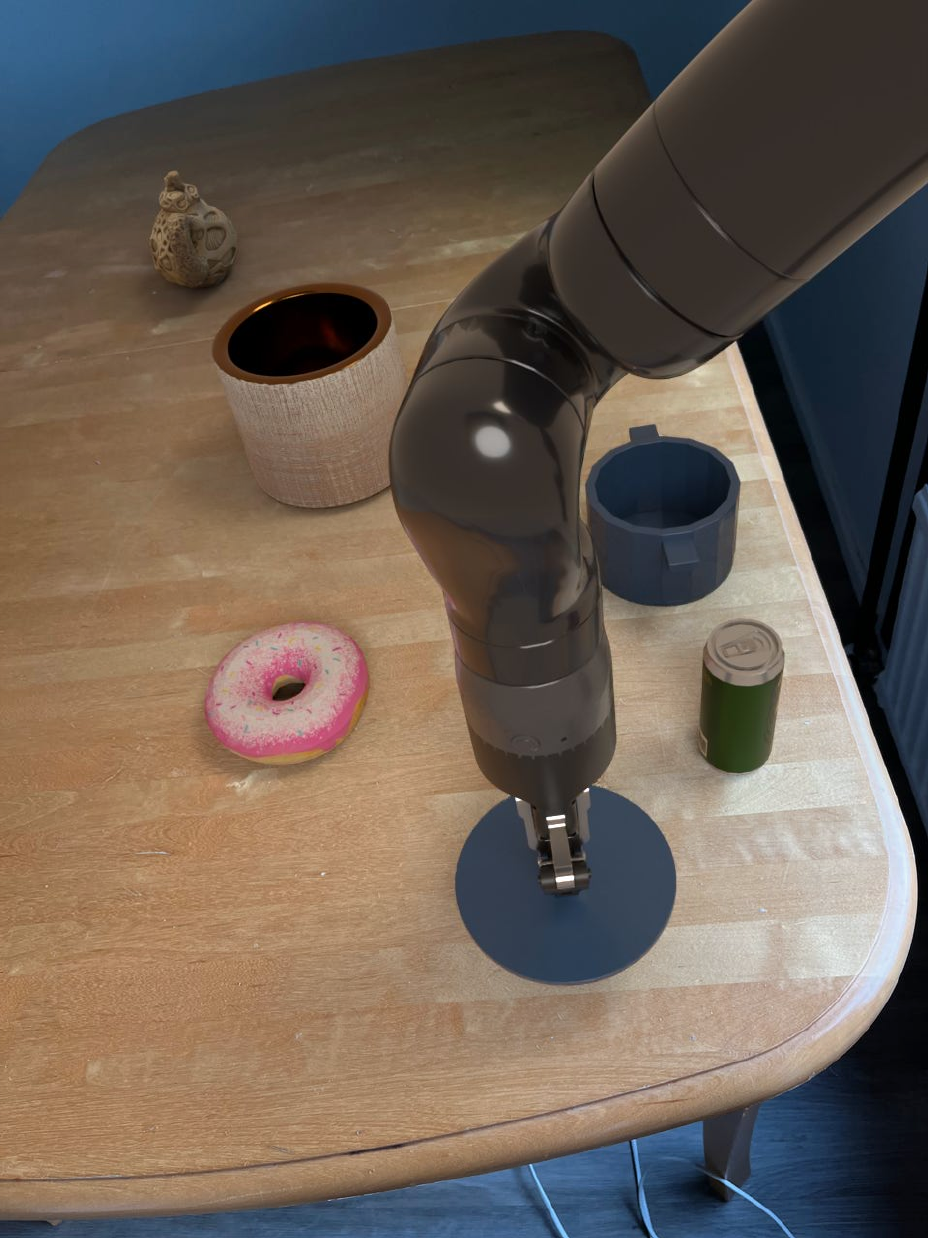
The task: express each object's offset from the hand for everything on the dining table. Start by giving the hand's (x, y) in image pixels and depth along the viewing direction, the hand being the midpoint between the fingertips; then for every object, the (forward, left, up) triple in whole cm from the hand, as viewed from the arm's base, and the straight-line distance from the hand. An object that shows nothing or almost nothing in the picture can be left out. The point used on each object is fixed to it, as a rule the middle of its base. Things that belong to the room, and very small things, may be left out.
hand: (562, 864), depth 63 cm
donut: (+20, -22, -9) cm, 31 cm away
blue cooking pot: (-13, -34, -9) cm, 38 cm away
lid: (0, 0, -2) cm, 2 cm away
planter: (+17, -55, -9) cm, 59 cm away
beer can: (-14, -13, -9) cm, 21 cm away
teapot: (+36, -98, -9) cm, 105 cm away
